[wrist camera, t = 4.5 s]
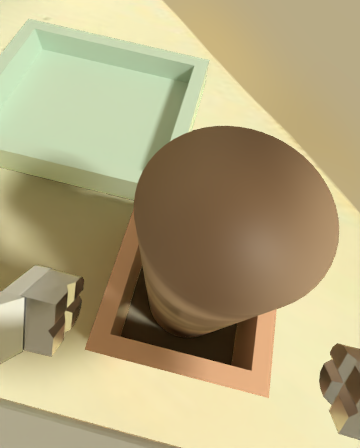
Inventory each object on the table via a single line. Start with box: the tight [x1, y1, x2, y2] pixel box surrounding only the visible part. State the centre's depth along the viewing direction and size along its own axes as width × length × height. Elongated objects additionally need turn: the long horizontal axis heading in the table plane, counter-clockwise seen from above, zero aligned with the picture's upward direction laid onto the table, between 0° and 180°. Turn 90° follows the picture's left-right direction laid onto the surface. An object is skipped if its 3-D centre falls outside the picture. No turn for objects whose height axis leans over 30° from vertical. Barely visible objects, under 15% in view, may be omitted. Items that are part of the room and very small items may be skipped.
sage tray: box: [0, 19, 209, 200], centre depth 25 cm, size 18×15×3 cm
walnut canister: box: [134, 126, 339, 338], centre depth 14 cm, size 6×6×14 cm
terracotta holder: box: [85, 209, 276, 398], centre depth 18 cm, size 10×10×4 cm
